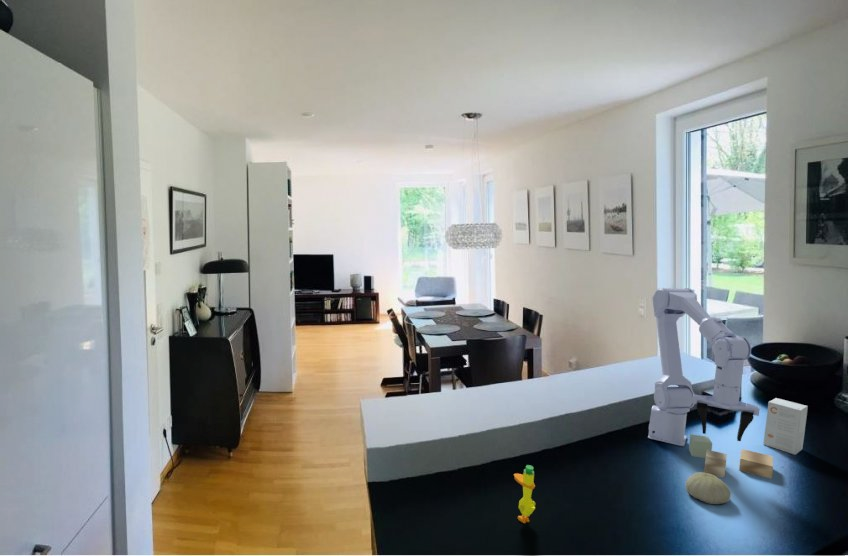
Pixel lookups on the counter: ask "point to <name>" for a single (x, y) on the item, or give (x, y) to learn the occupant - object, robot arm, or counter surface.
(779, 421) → the small box
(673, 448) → the counter surface
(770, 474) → the oak slab
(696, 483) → the sea urchin shell
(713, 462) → the birch cube
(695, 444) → the sage cube
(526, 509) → the toy figure
